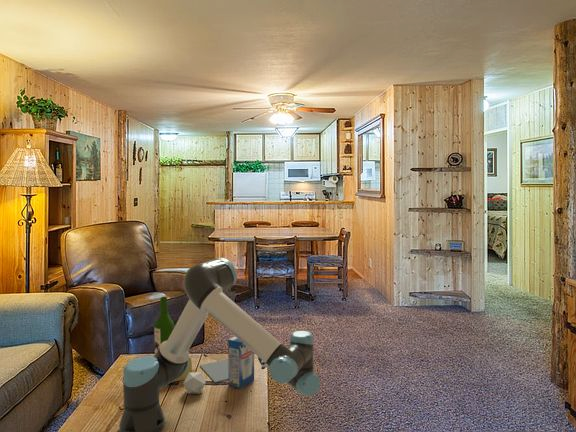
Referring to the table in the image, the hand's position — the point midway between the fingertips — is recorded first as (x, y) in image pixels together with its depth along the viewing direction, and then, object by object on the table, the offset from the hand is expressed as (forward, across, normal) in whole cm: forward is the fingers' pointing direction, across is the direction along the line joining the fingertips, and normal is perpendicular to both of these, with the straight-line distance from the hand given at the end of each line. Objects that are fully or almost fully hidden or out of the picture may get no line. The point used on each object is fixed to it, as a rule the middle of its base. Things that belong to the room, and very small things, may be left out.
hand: (257, 347), depth 170 cm
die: (+18, -20, -20) cm, 34 cm away
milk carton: (+16, 0, -21) cm, 26 cm away
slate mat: (+31, -2, -20) cm, 37 cm away
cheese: (+36, -22, -20) cm, 47 cm away
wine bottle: (+50, -24, -20) cm, 59 cm away
